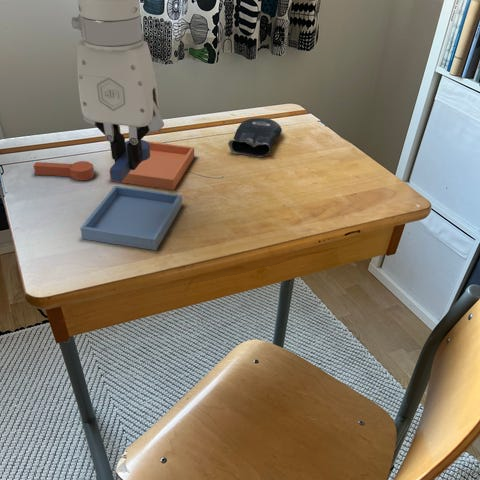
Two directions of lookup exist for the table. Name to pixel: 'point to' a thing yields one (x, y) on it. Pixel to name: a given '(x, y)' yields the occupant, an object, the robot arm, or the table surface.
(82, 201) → the table surface
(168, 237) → the table surface
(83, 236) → the blue tray
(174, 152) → the terracotta tray
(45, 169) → the spoon terracotta
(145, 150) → the dark blue paddle
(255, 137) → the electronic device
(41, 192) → the table surface
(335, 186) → the table surface
